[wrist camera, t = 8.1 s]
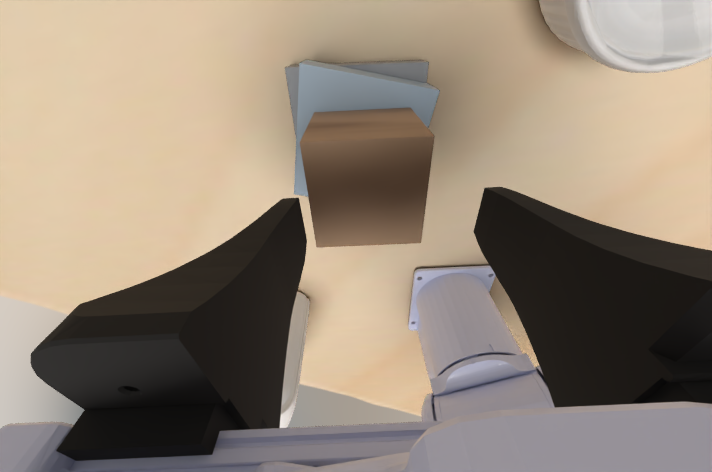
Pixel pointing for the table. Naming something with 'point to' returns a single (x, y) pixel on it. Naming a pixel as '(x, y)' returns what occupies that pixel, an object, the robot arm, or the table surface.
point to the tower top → (353, 98)
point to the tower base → (399, 69)
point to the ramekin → (634, 31)
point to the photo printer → (294, 357)
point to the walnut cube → (367, 176)
